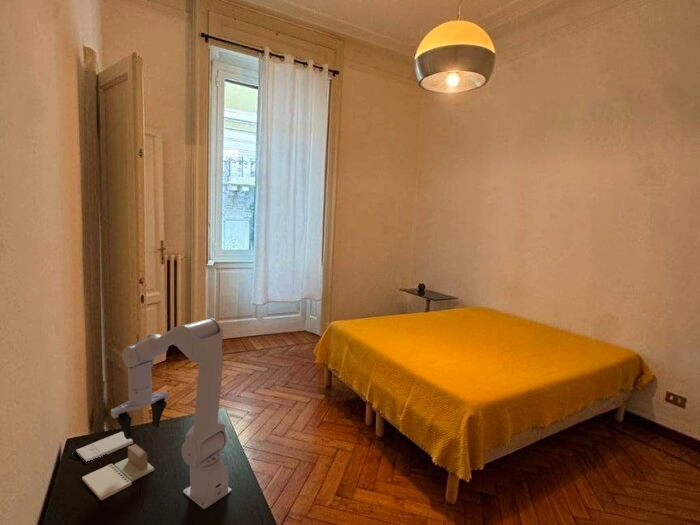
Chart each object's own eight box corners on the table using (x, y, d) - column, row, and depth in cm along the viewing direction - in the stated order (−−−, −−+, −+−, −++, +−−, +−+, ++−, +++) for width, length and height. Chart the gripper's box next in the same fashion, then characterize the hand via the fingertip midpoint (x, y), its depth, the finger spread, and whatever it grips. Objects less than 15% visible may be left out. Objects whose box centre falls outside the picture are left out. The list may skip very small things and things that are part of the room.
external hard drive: (133, 445, 115) (86, 465, 105) (121, 435, 120) (75, 454, 110) (133, 440, 115) (86, 459, 105) (121, 430, 120) (75, 448, 110)
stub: (154, 470, 103) (153, 453, 102) (130, 482, 98) (130, 464, 97) (137, 456, 109) (136, 440, 108) (114, 466, 104) (113, 450, 103)
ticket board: (131, 484, 97) (131, 481, 97) (101, 500, 91) (100, 497, 91) (111, 466, 104) (111, 463, 104) (82, 479, 98) (82, 476, 98)
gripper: (159, 374, 113) (160, 416, 114) (105, 390, 101) (107, 437, 102) (171, 380, 108) (172, 424, 110) (116, 398, 97) (118, 447, 98)
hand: (142, 431), depth 106 cm, fingers open, 7 cm apart
